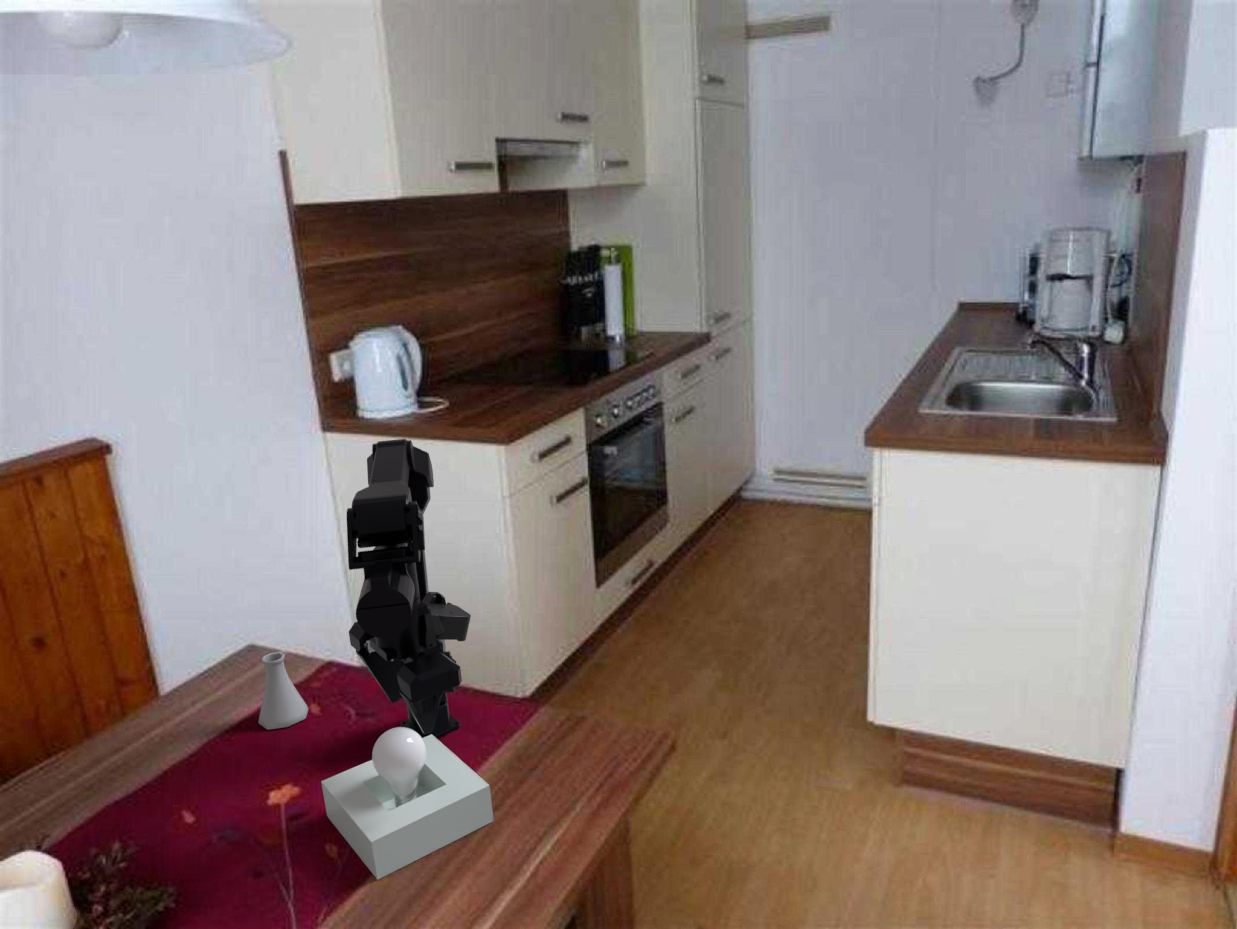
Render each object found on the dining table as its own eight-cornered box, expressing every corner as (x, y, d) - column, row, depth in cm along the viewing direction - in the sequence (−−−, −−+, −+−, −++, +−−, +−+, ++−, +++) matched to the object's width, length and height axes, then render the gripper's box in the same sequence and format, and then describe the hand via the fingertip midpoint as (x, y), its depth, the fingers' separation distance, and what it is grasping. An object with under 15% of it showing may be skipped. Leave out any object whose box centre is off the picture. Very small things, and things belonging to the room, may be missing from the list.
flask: (255, 713, 141) (243, 653, 138) (304, 699, 144) (294, 640, 142) (262, 736, 135) (250, 674, 132) (313, 720, 138) (302, 660, 135)
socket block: (327, 816, 116) (321, 781, 115) (436, 767, 125) (431, 734, 124) (377, 879, 105) (371, 842, 103) (493, 820, 113) (489, 785, 112)
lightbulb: (443, 809, 115) (433, 730, 111) (397, 834, 111) (384, 753, 108) (417, 787, 119) (406, 711, 116) (371, 810, 115) (359, 732, 112)
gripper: (495, 602, 106) (508, 723, 111) (422, 557, 121) (437, 665, 125) (404, 634, 100) (422, 761, 104) (339, 582, 114) (357, 695, 119)
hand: (411, 716), depth 113 cm, fingers open, 9 cm apart
